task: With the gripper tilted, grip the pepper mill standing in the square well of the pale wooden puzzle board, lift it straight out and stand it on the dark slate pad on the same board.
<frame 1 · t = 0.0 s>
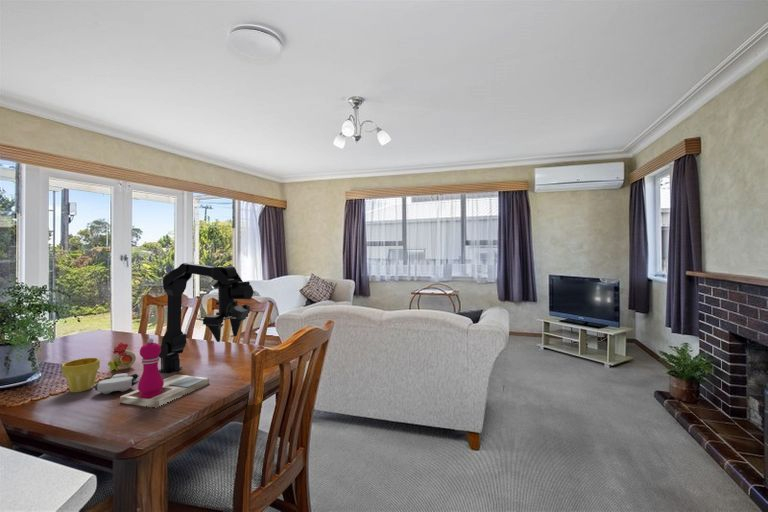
hand: (227, 339, 142), 15 cm above the table, tool pointing down, fingers open, 9 cm apart
pepper mill: (151, 398, 122), resting in puzzle board
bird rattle: (122, 369, 153), on the table
plant pot: (81, 389, 131), on the table
puzzle board: (167, 392, 127), on the table
robot toy: (118, 389, 131), on the table
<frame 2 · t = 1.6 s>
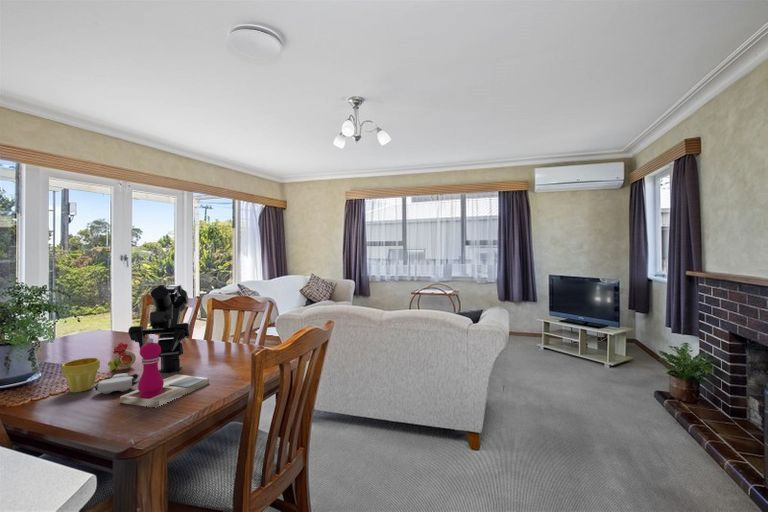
hand: (156, 352, 129), 13 cm above the table, tool tilted 45°, fingers open, 9 cm apart
nothing on the table moved.
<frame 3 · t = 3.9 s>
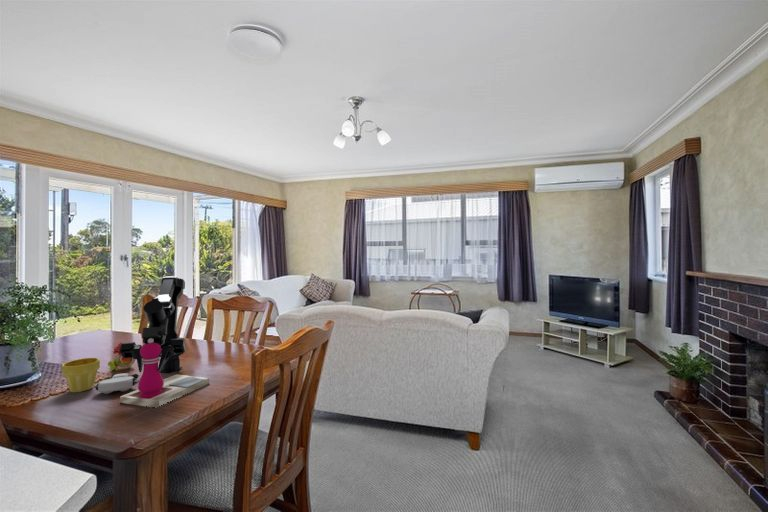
hand: (149, 370, 121), 10 cm above the table, tool tilted 45°, fingers closed on pepper mill, 5 cm apart
pepper mill: (151, 398, 122), resting in puzzle board, touching gripper
everything else where it was.
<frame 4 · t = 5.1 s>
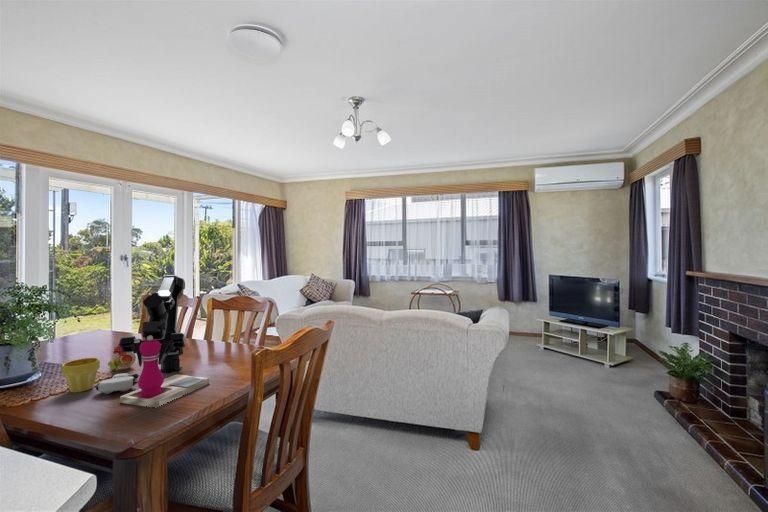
hand: (149, 364, 121), 11 cm above the table, tool tilted 45°, fingers closed on pepper mill, 5 cm apart
pepper mill: (151, 395, 122), point 1 cm above the table, touching gripper
everything else where it was.
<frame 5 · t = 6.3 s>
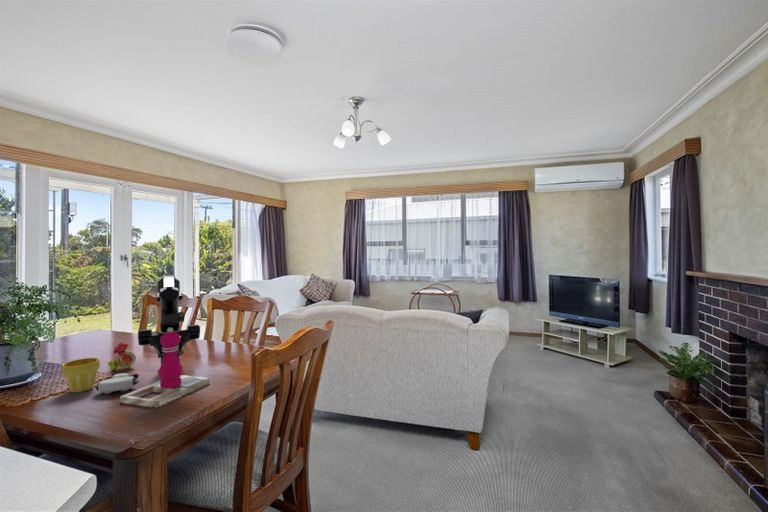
hand: (170, 355, 125), 13 cm above the table, tool tilted 45°, fingers closed on pepper mill, 5 cm apart
pepper mill: (170, 385, 126), point 3 cm above the table, touching gripper
everything else where it was.
when the fingers open (13 cm above the table, at t = 7.7 s): pepper mill stays where it is, resting on puzzle board.
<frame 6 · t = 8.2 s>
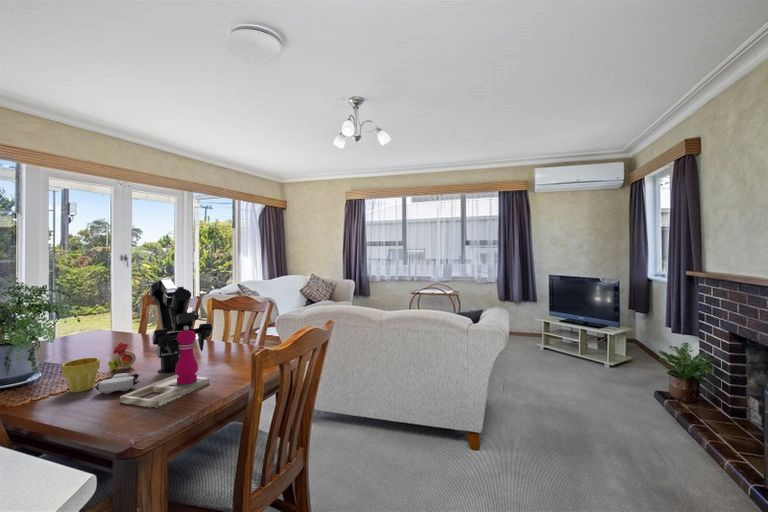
hand: (188, 352, 129), 13 cm above the table, tool tilted 45°, fingers open, 9 cm apart
pepper mill: (187, 382, 131), point 2 cm above the table, touching puzzle board
everything else where it was.
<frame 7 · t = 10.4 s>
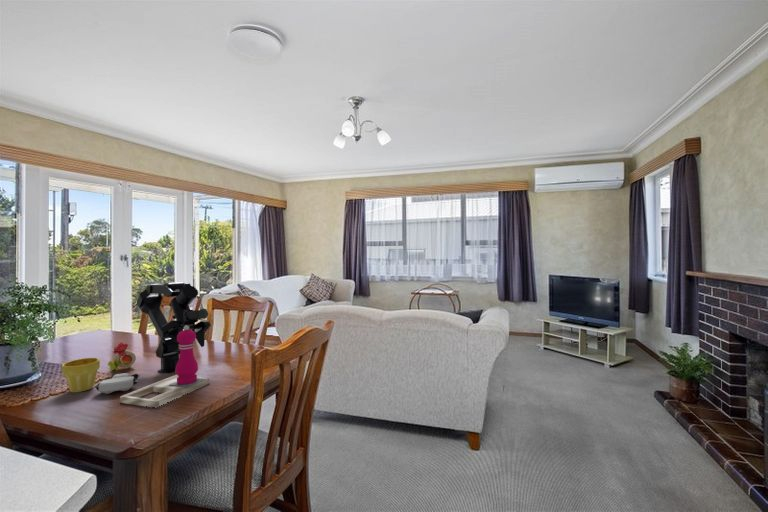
hand: (193, 347, 140), 12 cm above the table, tool tilted 35°, fingers open, 9 cm apart
nothing on the table moved.
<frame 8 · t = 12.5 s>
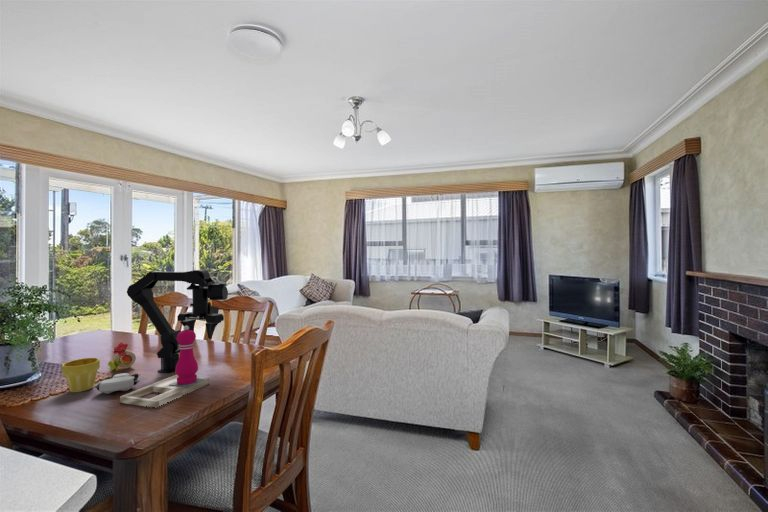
hand: (200, 338, 151), 13 cm above the table, tool pointing down, fingers open, 9 cm apart
nothing on the table moved.
at the end: pepper mill inside the target area (0.4 cm from its centre), point 2.1 cm above the table; pepper mill tilted 0°; the gripper is holding nothing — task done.
